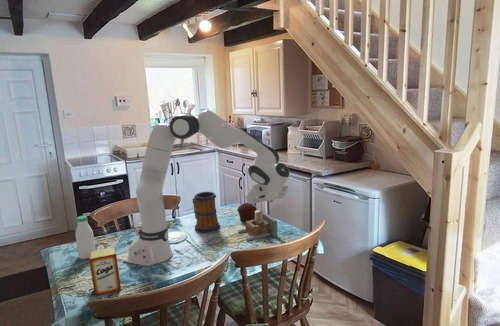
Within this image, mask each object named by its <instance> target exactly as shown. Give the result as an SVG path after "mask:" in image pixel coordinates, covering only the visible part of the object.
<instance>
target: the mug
mask: <svg viewBox="0 0 500 326" xmlns="http://www.w3.org/2000/svg"><path fill="white" fill-rule="evenodd" d="M216 198H217V195H216V193H215V192H213V191H202V192H198V193H195V195H194V198H193V197H192V204H193V212H194V218H195V220H196V224H195V225H194V231H195V232H196V233H199V234H202V235H203V234H204V235H205V234H211V233H215V232H217V231H219V230H220V228H221V225H220V223H219V221H218V215H217V208H216Z"/></svg>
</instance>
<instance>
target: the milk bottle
mask: <svg viewBox="0 0 500 326" xmlns="http://www.w3.org/2000/svg"><path fill="white" fill-rule="evenodd" d="M76 222H77V227H76V230H75V241H76V242H75V243H76V247H77V249H76V250H77V254H78V258H79V259H80V260H87V259H88V260H89V253H90V252H93V251H97V250H96V243H95V237H94V236H95V235H94V232H93V229H92V228H91V226H90V224H89V223H88V216H87V215H80V216H78V217H76Z"/></svg>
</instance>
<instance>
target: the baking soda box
mask: <svg viewBox="0 0 500 326" xmlns="http://www.w3.org/2000/svg"><path fill="white" fill-rule="evenodd" d="M88 262H89V266H90V272H91V280H92V286H93V293H94V297H98V296H103V295H107V294H110V293H115V292H118V290H119V291H121V290H122V288H121V287H122V286H121V281H120V280H121V279H120V273H119V266H118V265H119V264H118V259H117V250H116V246H114V247H109V248H104V249H102V248H101V249H97V250H96V251H93V252H90V253H89V258H88ZM114 291H115V292H114ZM106 293H107V294H106Z"/></svg>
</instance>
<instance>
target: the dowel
mask: <svg viewBox="0 0 500 326" xmlns="http://www.w3.org/2000/svg"><path fill="white" fill-rule="evenodd" d="M261 210H262V209H257V210H256V211H255V225H259V224H263V217H262V211H263V210H262V211H261Z"/></svg>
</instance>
